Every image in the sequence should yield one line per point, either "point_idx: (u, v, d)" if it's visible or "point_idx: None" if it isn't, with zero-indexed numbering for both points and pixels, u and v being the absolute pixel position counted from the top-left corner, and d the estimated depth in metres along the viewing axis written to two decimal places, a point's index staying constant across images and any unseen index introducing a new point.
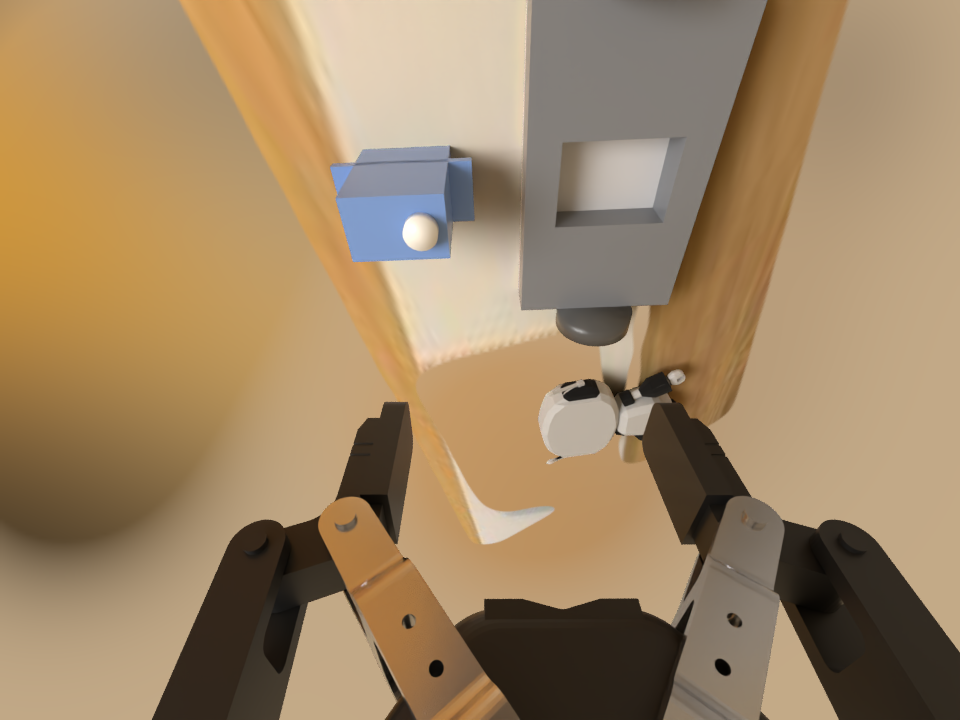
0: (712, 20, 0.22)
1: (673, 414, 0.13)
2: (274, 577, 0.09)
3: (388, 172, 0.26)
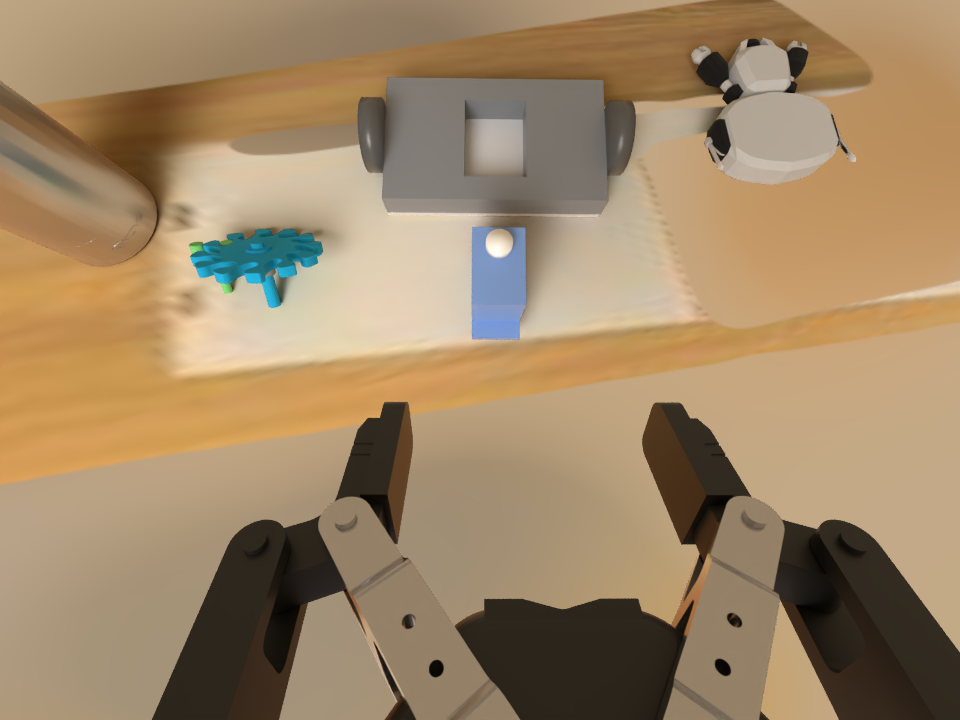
0: (403, 102, 0.39)
1: (673, 414, 0.13)
2: (274, 578, 0.09)
3: None
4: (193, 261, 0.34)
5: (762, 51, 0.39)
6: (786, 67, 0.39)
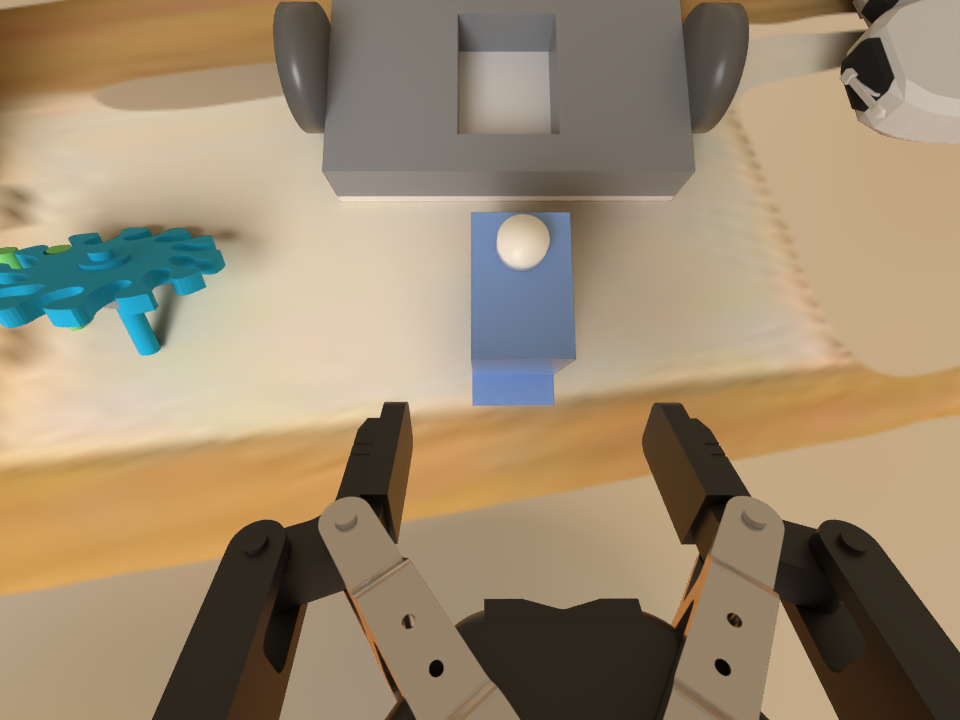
0: (358, 18, 0.24)
1: (673, 414, 0.13)
2: (274, 578, 0.09)
3: None
4: None
5: None
6: None
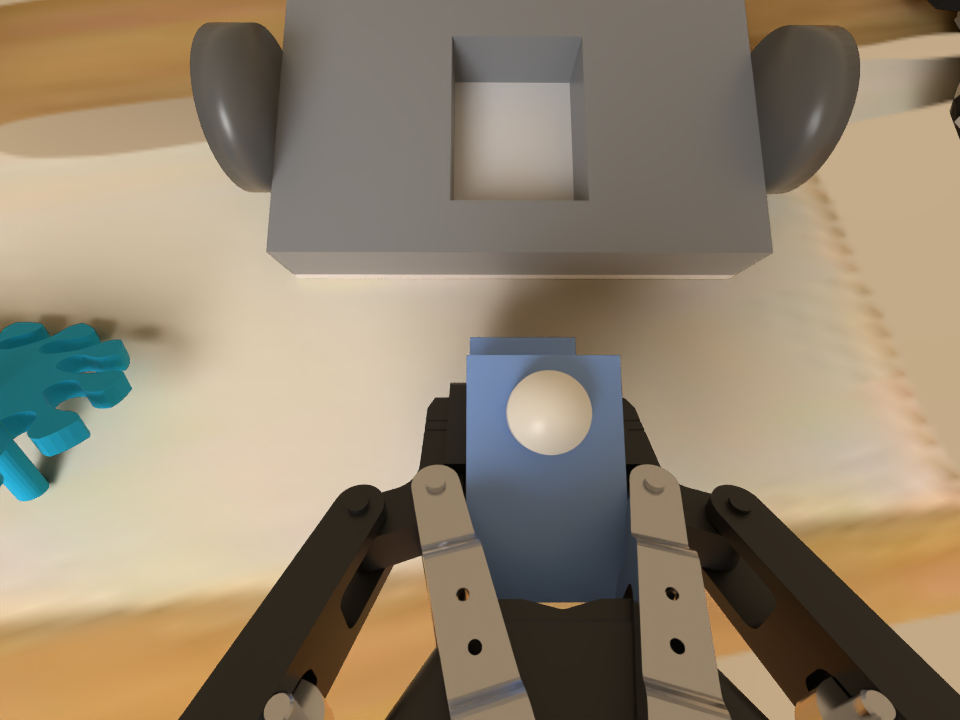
0: (320, 42, 0.18)
1: None
2: (365, 542, 0.09)
3: None
4: None
5: None
6: None
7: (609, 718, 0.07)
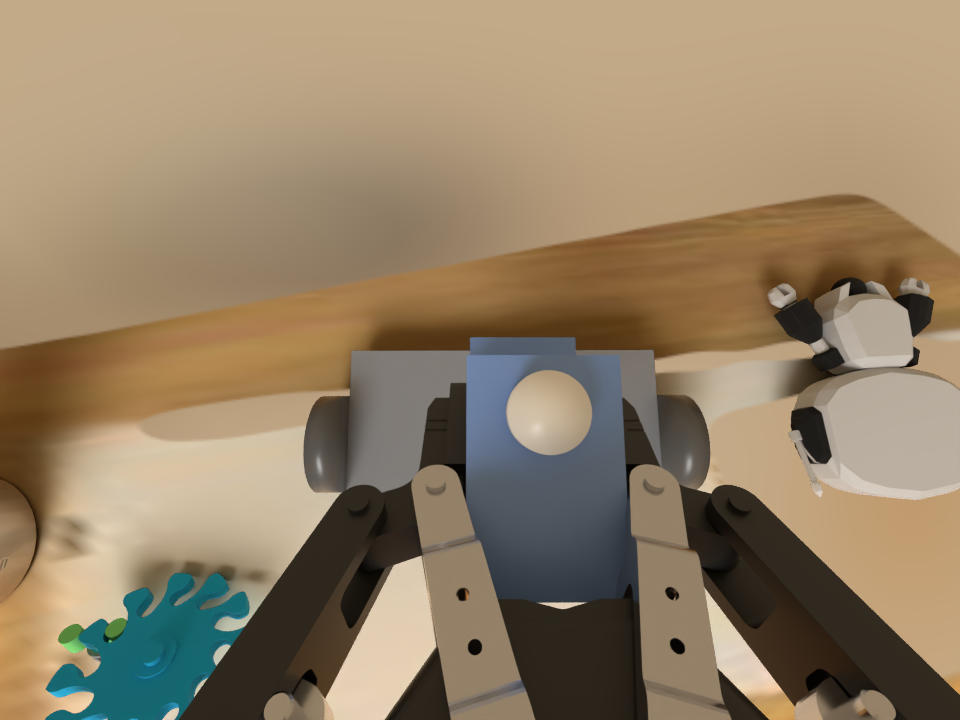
0: (374, 389, 0.28)
1: None
2: (365, 542, 0.09)
3: None
4: (51, 693, 0.23)
5: (873, 309, 0.28)
6: (908, 335, 0.28)
7: (609, 718, 0.07)
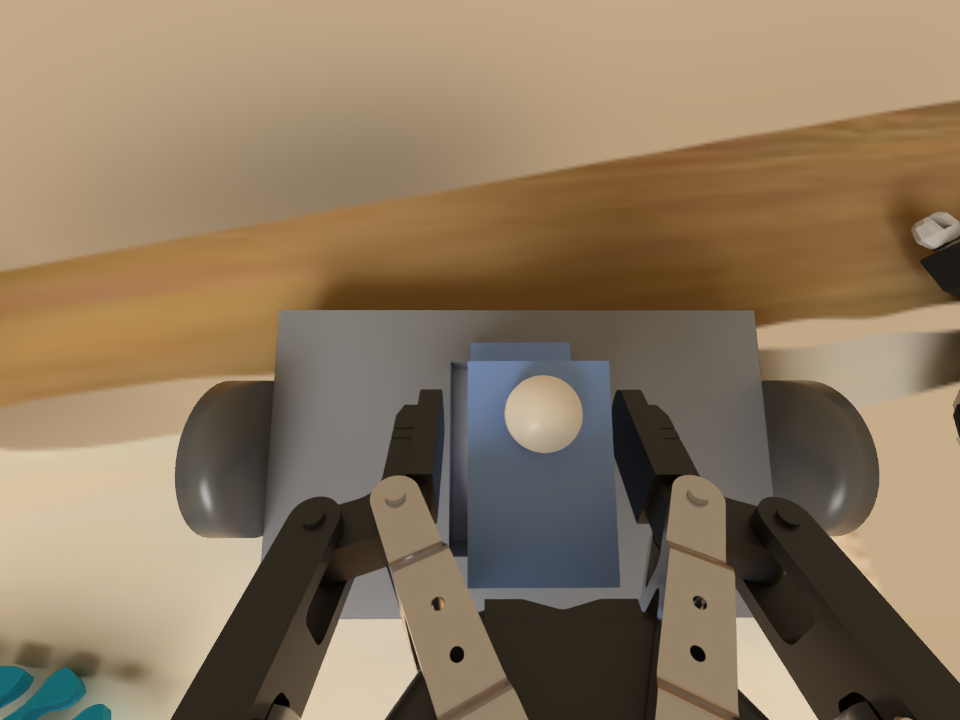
0: (313, 369, 0.18)
1: (632, 400, 0.13)
2: (325, 554, 0.09)
3: None
4: None
5: None
6: None
7: (618, 709, 0.07)
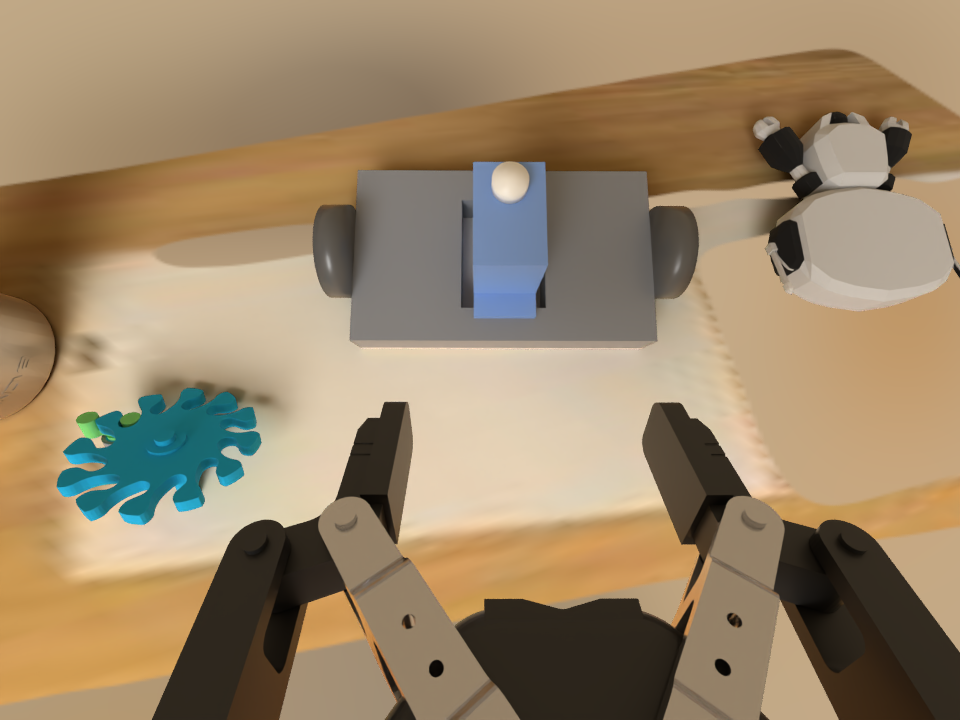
0: (379, 204, 0.29)
1: (673, 414, 0.13)
2: (274, 577, 0.09)
3: None
4: (68, 458, 0.24)
5: (852, 132, 0.29)
6: (884, 156, 0.29)
7: (630, 701, 0.07)
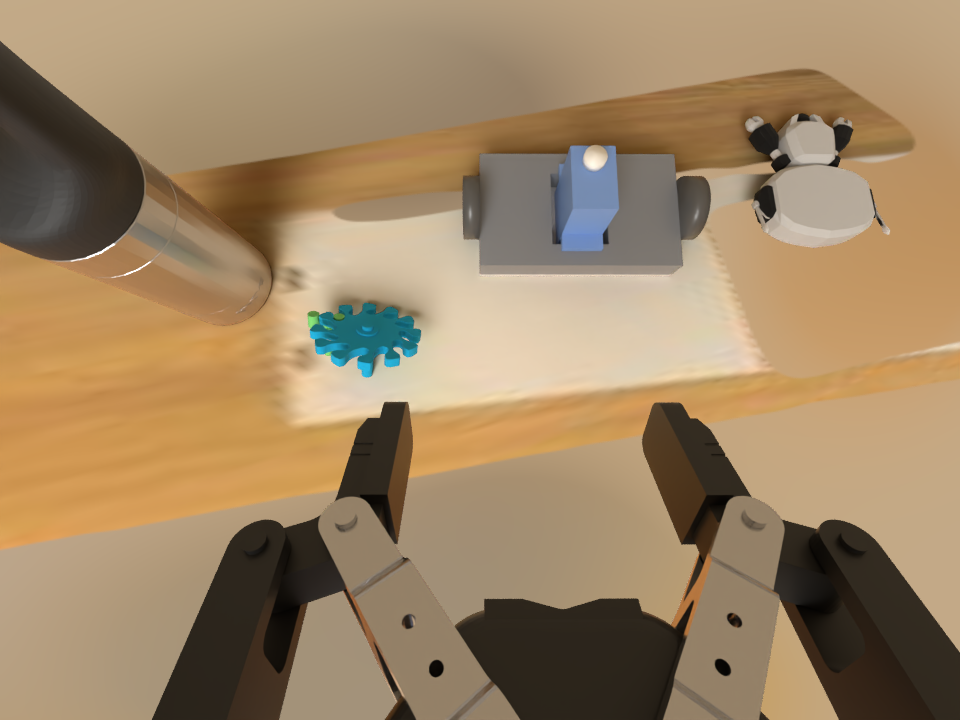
0: (495, 176, 0.43)
1: (673, 414, 0.13)
2: (274, 578, 0.09)
3: (563, 203, 0.41)
4: (311, 334, 0.38)
5: (811, 127, 0.44)
6: (832, 143, 0.43)
7: (630, 701, 0.07)
